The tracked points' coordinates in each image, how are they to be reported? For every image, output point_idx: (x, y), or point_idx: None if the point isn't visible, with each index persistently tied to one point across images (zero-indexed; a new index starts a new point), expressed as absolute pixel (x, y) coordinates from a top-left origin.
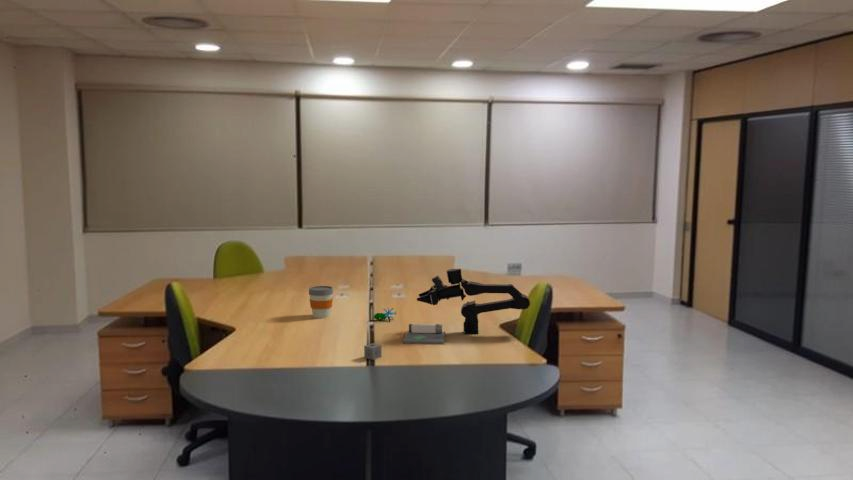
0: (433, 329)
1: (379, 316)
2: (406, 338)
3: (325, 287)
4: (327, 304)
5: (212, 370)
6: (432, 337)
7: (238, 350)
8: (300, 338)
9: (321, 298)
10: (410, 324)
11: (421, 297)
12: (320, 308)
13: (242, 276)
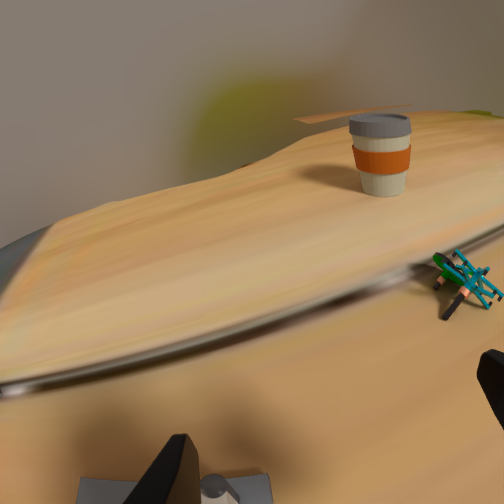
0: None
1: (444, 269)
2: (110, 491)
3: (404, 119)
4: (374, 163)
5: (41, 235)
6: None
7: (115, 213)
8: (177, 231)
9: (359, 143)
10: (216, 483)
11: (132, 500)
12: (360, 168)
13: (479, 115)
